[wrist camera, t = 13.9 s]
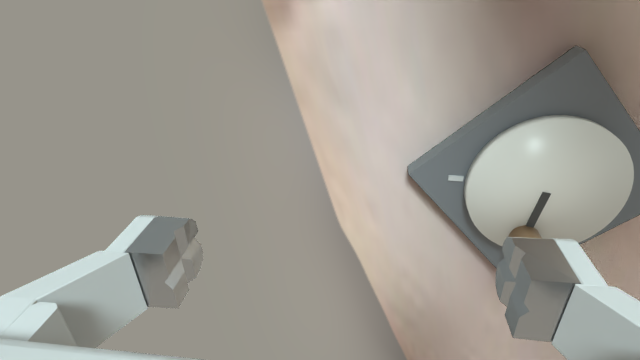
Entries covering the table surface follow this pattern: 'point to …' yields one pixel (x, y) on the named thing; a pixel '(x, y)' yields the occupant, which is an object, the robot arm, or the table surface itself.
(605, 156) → the dial
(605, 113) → the dial housing
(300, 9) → the table surface
